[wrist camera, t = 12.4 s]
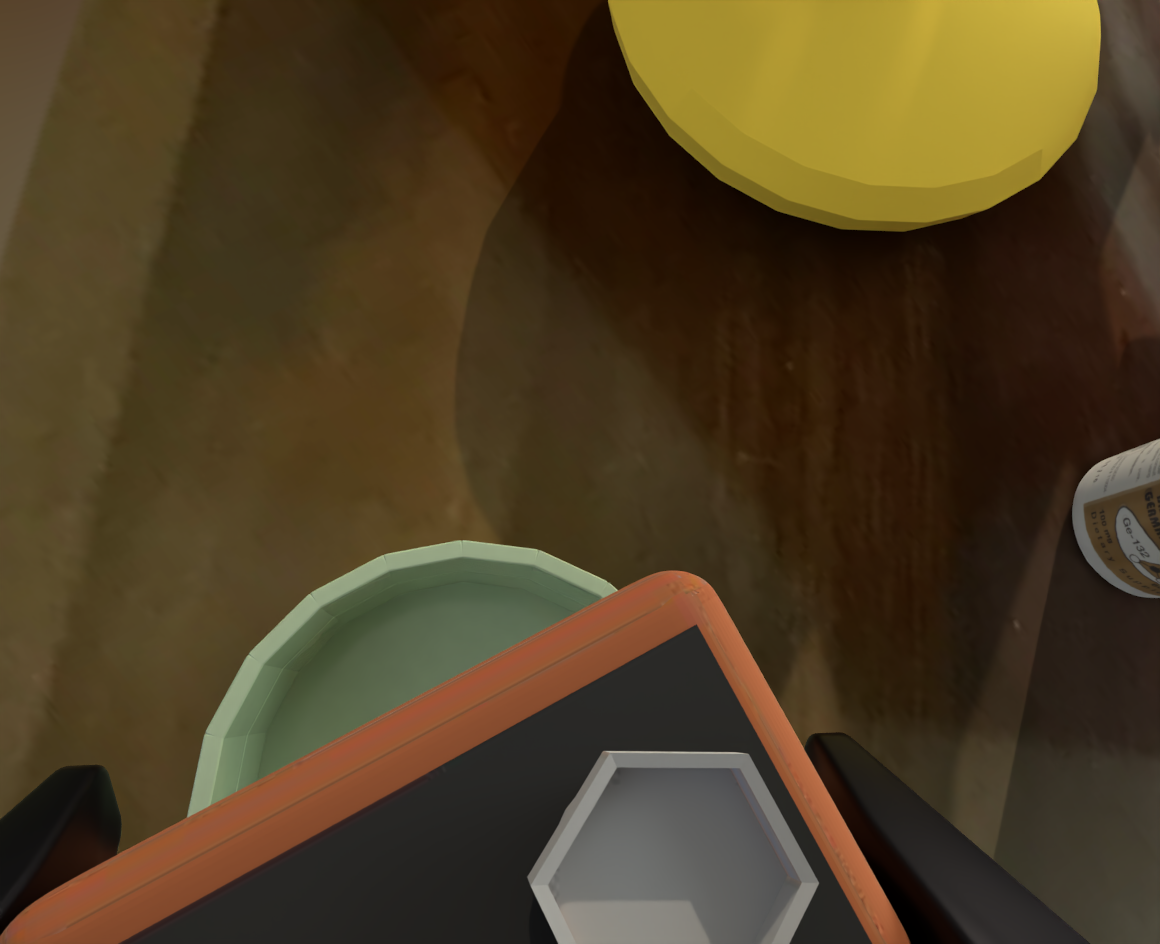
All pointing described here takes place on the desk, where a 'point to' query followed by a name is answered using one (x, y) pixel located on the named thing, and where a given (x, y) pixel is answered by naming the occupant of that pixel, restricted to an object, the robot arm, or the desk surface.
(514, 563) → the bowl
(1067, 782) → the desk surface
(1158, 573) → the pill bottle
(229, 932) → the battery
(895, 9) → the vase
